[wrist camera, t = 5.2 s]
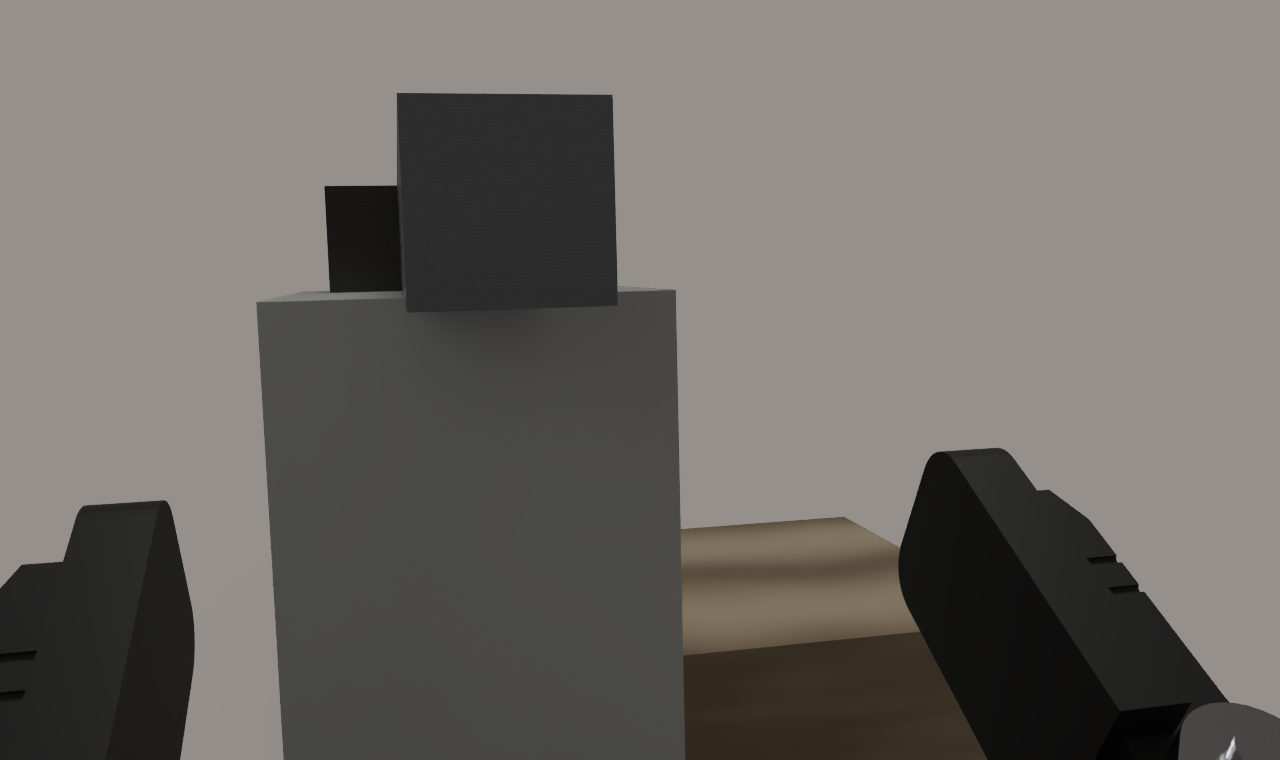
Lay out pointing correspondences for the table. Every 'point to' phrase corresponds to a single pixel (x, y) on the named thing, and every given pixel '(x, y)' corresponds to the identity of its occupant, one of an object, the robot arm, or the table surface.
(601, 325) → the tall step
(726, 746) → the wood grain block
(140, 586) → the robot arm
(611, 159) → the t handle
